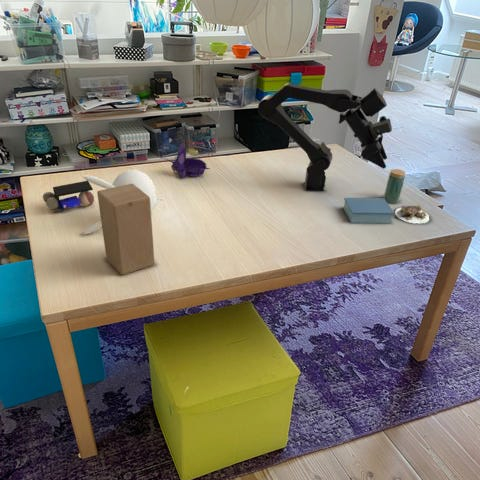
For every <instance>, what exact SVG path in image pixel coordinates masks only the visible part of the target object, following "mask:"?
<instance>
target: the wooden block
mask: <svg viewBox="0 0 480 480" xmlns="http://www.w3.org/2000/svg"><path fill="white" fill-rule="evenodd" d="M97 202H98V207H99V216H100V220H101V223H102V227H101V230H102V237H103V245H104V252H105V258H106V260H107V261H108V262H109V264H111V266H113V268H114V269H115V270H116V271H117V272H118V273H119V274H120V275H121V276H123V275H127V274H130V273H133V272H136V271H140V270H144V269H146V268H151V267H153V266H155V264H156V263H155V252H154V251H155V250H154V248H155V247H154V238H153V237H154V235H153V223H152V222H153V221H152V216H151V205H150V197H149V196H148V195H146V194H145V193H144V192H143V191H141V190H140V189H139V188H138V187H136V186H135V185H134V184H128V185H123V186H118V187H114V188H109V189H106V188H104V189H100V190H97Z"/></svg>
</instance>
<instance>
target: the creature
mask: <svg viewBox="0 0 480 480" xmlns="http://www.w3.org/2000/svg"><path fill="white" fill-rule="evenodd" d="M173 155H174V158H175V159H174V160H170V159H167V158H165V157H164V158H163V159H164V160H166V161H167V162H170V163H172V164H171V166H170V167H171V170H172V171H173V172H174V173H175V172H176V173H180V174H178V178H181V179H184V178H186V175H187V176H188V177H192V178H193V177H200V176H202V175H204V174H205V171H206V170H210V169H211V168H209V167H208V165H207V164H208V163H206V162H205V160H202V159H201V158H196V157H192V156H191V157H187V147H186V146H185V139H183V140H182V141H181V144H180V146H179V149H178V151H177V154H173Z"/></svg>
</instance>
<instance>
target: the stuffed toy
mask: <svg viewBox="0 0 480 480" xmlns="http://www.w3.org/2000/svg"><path fill="white" fill-rule="evenodd" d="M81 177H82V178H83V179H85V181H88V182H89V183H90V184H93V185H96V186H98V187H101V188H104V189H109V188H114V187H118V186H123V185H128V184H134V185H135V186H136V187H138V188H139V189H140V190H141V191H143V192H144V193H145V194H146V195H148V196H149V197H150V205H151V217H152V215H153V214H154V212H155V210H156V206H157V201H163V197H160V198H157V197H158V194H157V190H156V187H155V184H154V182H153V180H152V179H151V177H149V176H148V175H147V173H145V172H143V171H142V170H138V169H127V170H124V171H123V172H121V173H119V174H118V175H117V176H116V178H114V180H113V181H112V183H110V182H108V181H106V180H104V179H102V178H100V177H98V176H94V175H86V174H85V175H81ZM100 229H102V223H101V219H100V220H99V221H98V222H95V223H94V224H92V225H91V226H90V227H88V228H87V229H86V230H85V231H84V233H82V236H84V235H90V234H93V233H94V232H97V231H98V230H100Z"/></svg>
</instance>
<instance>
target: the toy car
mask: <svg viewBox="0 0 480 480" xmlns="http://www.w3.org/2000/svg"><path fill="white" fill-rule="evenodd" d="M93 190H94V189H93V187H92V184H91V182H89V181H87V180H84V181H79V182H73V183H72V182H71V183H67V184H63V185H56V186H53V187H52V191H53V192H51V191H46V192H44V193H43V195H42V199H43V202H45V205H46V207H47V208H48V209H50V210H55V211H54V213H61V212H63V211H64V210H66V209H70V208H75V207H77V206H84V207H90V206H92V205H93V204H94V202H95V196H94V194H93V193H92V192H91V191H93ZM74 194H78V196H77V195H74ZM69 195H71V196H69ZM64 196H68V197H65V198H60V197H64ZM57 209H58V210H57Z"/></svg>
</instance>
